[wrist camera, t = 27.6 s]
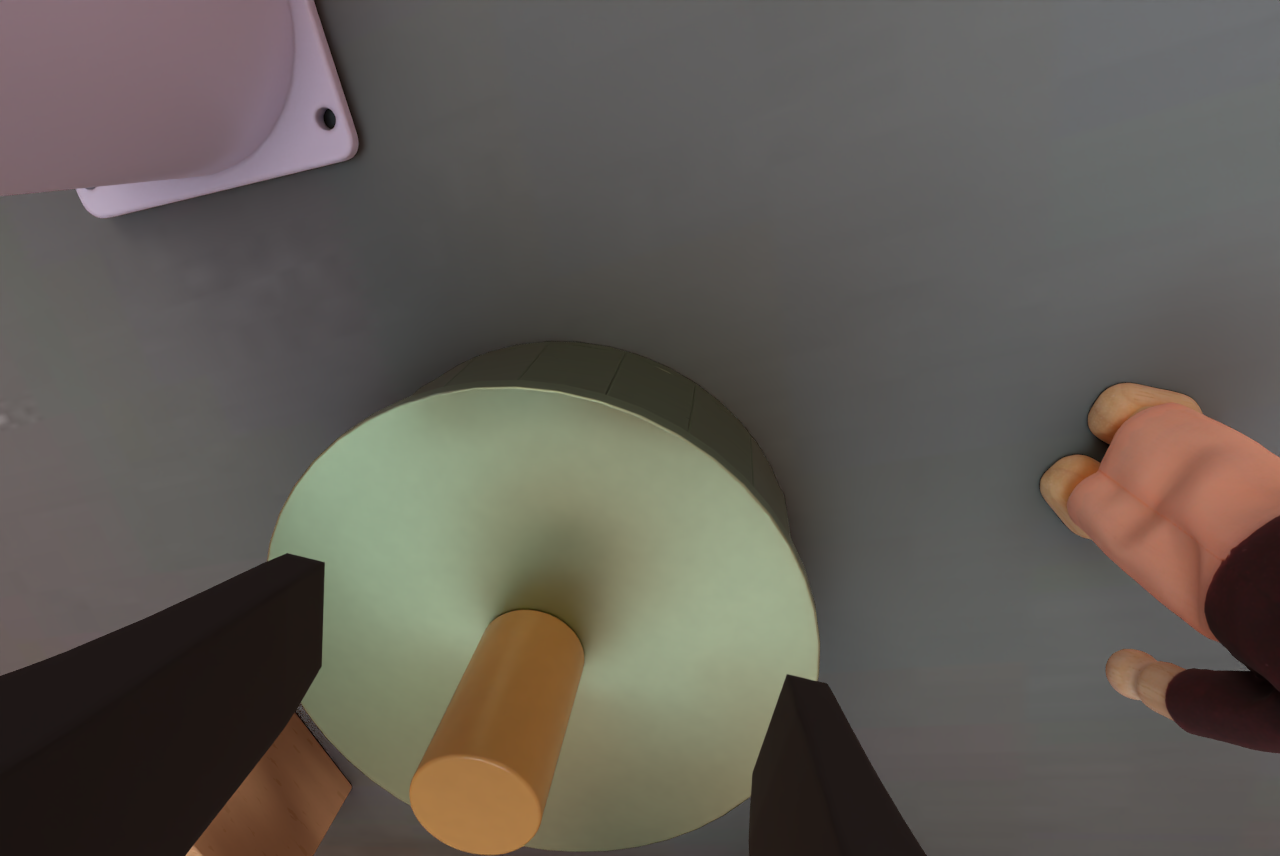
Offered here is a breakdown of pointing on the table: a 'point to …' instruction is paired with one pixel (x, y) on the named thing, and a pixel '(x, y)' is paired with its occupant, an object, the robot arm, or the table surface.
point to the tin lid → (547, 616)
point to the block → (279, 802)
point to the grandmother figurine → (1186, 552)
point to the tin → (630, 397)
